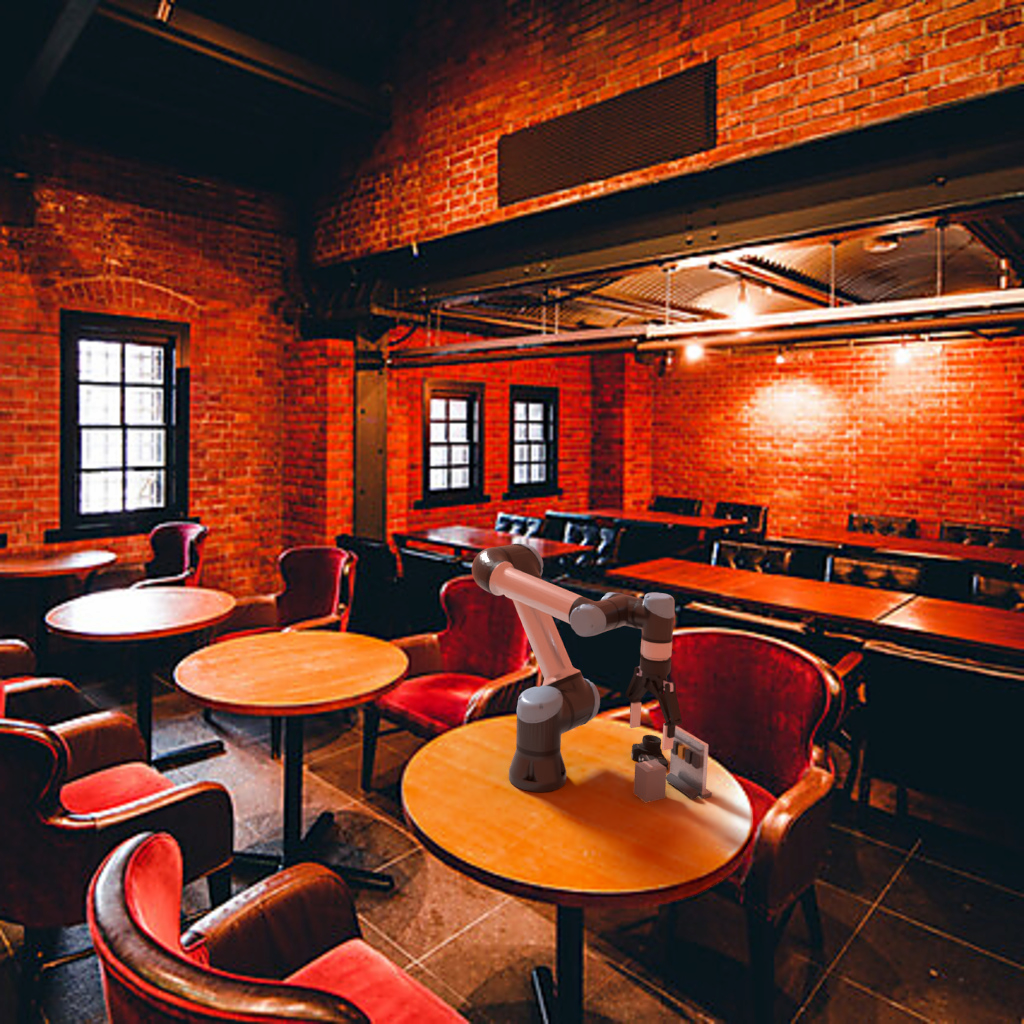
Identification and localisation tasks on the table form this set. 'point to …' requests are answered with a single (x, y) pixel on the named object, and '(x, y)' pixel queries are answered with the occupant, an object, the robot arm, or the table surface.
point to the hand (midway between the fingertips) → (650, 737)
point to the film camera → (649, 750)
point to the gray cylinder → (682, 786)
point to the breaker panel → (690, 761)
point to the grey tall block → (650, 780)
